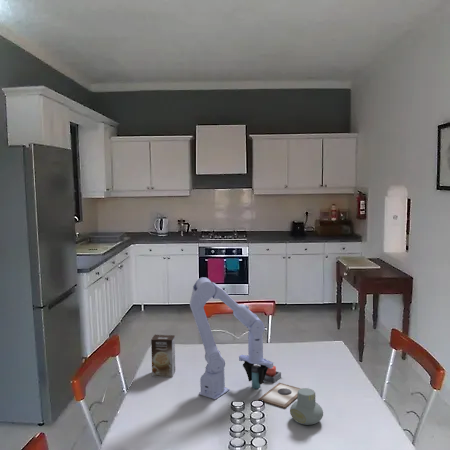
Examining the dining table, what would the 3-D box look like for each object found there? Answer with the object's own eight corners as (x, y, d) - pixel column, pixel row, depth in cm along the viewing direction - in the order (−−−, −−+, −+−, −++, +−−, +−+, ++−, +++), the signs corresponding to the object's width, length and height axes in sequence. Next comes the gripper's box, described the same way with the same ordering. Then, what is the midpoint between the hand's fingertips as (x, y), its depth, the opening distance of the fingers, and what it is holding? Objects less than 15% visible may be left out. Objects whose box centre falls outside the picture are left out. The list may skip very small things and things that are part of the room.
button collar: (273, 382, 176) (273, 377, 176) (261, 379, 179) (260, 374, 179) (281, 377, 181) (281, 372, 180) (268, 373, 184) (268, 369, 184)
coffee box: (151, 377, 183) (150, 339, 182) (155, 370, 190) (154, 334, 188) (172, 377, 182) (171, 339, 181) (176, 371, 189) (175, 334, 187)
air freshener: (286, 417, 149) (285, 389, 148) (302, 410, 154) (302, 382, 153) (310, 431, 140) (310, 401, 139) (327, 423, 145) (327, 393, 144)
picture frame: (285, 408, 155) (285, 406, 155) (258, 400, 161) (258, 398, 161) (304, 391, 168) (304, 389, 168) (279, 384, 174) (279, 382, 174)
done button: (272, 377, 177) (272, 370, 177) (264, 375, 179) (264, 367, 179) (277, 374, 180) (277, 366, 180) (269, 371, 183) (269, 364, 182)
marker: (257, 389, 170) (257, 369, 169) (249, 387, 172) (249, 367, 171) (262, 386, 173) (262, 366, 172) (254, 383, 175) (254, 364, 174)
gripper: (277, 348, 170) (277, 382, 171) (245, 341, 178) (246, 373, 180) (267, 354, 164) (268, 389, 166) (235, 346, 173) (236, 380, 174)
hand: (256, 381), depth 172 cm, fingers open, 4 cm apart
